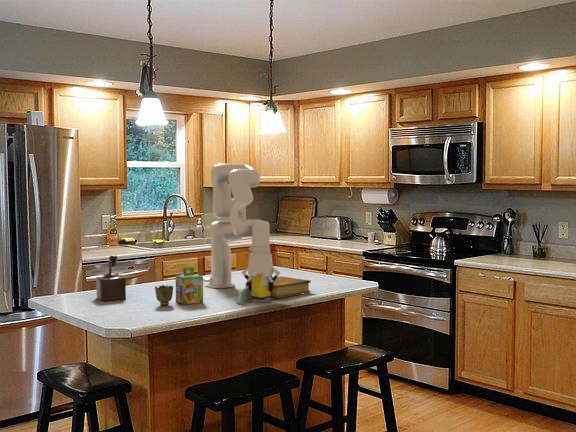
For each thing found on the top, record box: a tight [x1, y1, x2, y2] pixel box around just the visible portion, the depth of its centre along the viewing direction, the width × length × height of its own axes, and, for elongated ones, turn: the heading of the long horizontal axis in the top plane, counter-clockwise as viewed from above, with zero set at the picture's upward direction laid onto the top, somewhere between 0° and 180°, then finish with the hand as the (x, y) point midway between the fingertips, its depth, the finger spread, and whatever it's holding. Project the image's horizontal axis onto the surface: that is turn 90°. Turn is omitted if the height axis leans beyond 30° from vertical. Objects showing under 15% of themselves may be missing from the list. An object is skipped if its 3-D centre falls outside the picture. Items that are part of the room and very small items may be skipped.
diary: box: [245, 276, 311, 299], centre depth 290 cm, size 23×19×6 cm
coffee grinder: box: [95, 254, 127, 302], centre depth 281 cm, size 16×11×18 cm
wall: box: [235, 286, 252, 305], centre depth 275 cm, size 3×17×5 cm, turn 169°
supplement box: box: [251, 273, 270, 299], centre depth 274 cm, size 6×6×11 cm
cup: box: [154, 284, 174, 307], centre depth 264 cm, size 8×7×8 cm
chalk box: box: [175, 266, 204, 306], centre depth 270 cm, size 9×9×15 cm
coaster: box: [248, 297, 274, 304], centre depth 274 cm, size 9×9×1 cm
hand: (260, 290), depth 274 cm, fingers closed on supplement box, 8 cm apart
